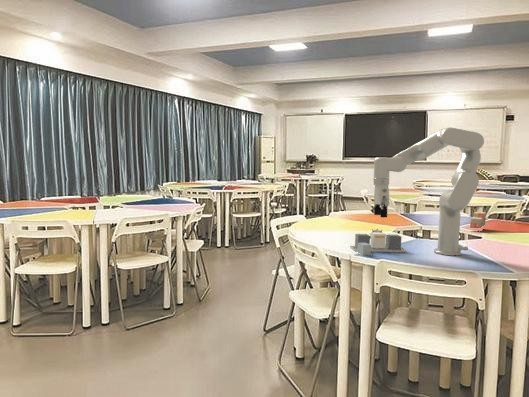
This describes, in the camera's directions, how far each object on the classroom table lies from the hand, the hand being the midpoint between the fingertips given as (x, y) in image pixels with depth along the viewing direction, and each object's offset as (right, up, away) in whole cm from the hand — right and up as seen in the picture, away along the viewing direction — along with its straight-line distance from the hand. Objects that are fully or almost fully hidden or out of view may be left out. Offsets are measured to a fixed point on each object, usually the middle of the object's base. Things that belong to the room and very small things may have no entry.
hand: (380, 216), depth 216 cm
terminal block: (-10, -18, -9) cm, 23 cm away
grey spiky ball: (+3, -16, +19) cm, 25 cm away
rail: (-1, -17, +2) cm, 17 cm away
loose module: (-1, -16, +1) cm, 16 cm away
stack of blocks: (+89, -14, +81) cm, 121 cm away
